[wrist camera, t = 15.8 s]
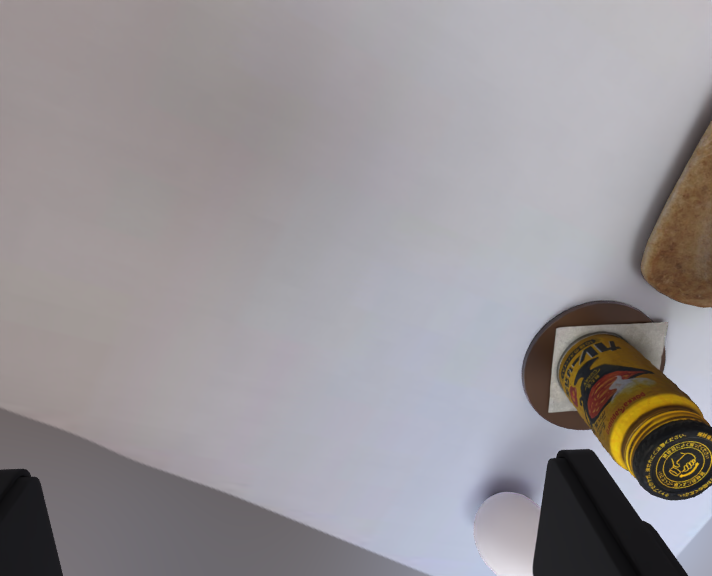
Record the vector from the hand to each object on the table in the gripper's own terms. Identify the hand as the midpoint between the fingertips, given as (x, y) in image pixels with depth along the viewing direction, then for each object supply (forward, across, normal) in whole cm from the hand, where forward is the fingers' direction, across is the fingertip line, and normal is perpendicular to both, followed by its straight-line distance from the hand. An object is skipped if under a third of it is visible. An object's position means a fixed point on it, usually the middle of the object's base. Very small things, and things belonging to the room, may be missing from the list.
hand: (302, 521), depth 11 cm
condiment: (+30, -22, +14) cm, 39 cm away
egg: (+30, -15, +27) cm, 43 cm away
